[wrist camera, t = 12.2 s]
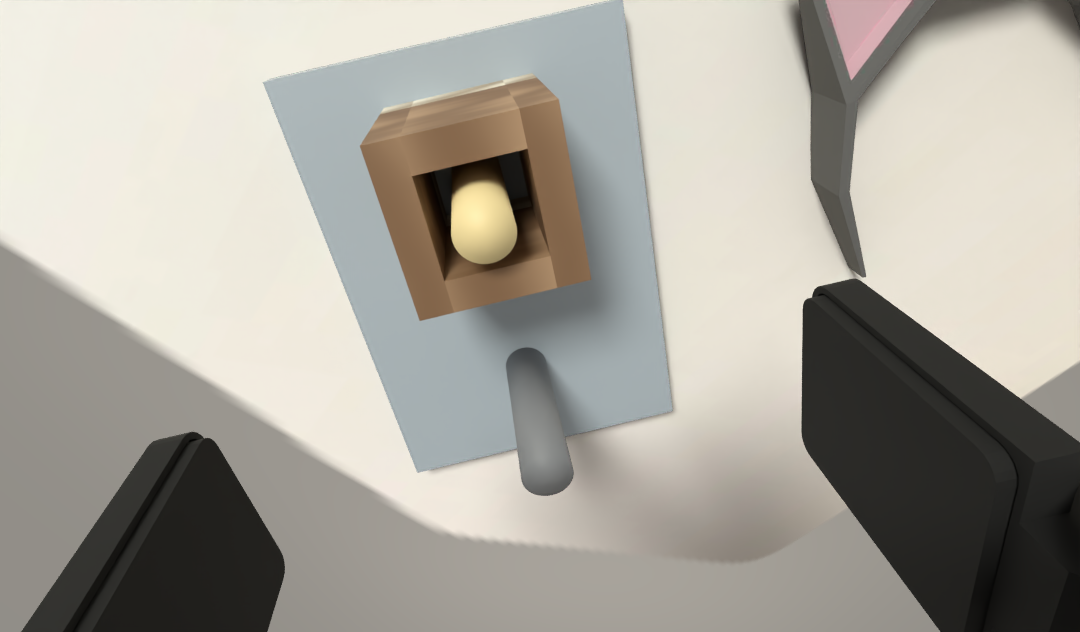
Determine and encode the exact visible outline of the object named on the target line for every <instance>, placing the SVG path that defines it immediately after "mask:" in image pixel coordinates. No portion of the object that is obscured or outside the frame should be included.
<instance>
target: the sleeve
mask: <svg viewBox="0 0 1080 632" xmlns="http://www.w3.org/2000/svg"><path fill="white" fill-rule="evenodd" d="M360 149H361V151H362V154H363V157H364V160H365V163H366V166H367V169H368V172H369V175H370V178H371V181H372V184H373V186H374V189H375V192H376V195H377V198H378V201H379V204H380V207H381V210H382V213H383V216H384V219H385V221H386V224H387V227H388V230H389V233H390V236H391V239H392V242H393V245H394V248H395V251H396V253H397V256H398V259H399V262H400V265H401V268H402V271H403V274H404V277H405V280H406V283H407V286H408V288H409V291H410V294H411V297H412V300H413V303H414V306H415V309H416V312H417V315H418V318H419V321H422V320H426V319H431V318H435V317H439V316H443V315H447V314H451V313H455V312H460V311H464V310H468V309H472V308H476V307H480V306H485V305H489V304H493V303H497V302H501V301H505V300H509V299H514V298H518V297H522V296H526V295H530V294H534V293H539V292H543V291H547V290H551V289H555V288H559V287H564V286H568V285H572V284H576V283H580V282H584V281H588V280H591V274H590V269H589V263H588V258H587V252H586V247H585V241H584V235H583V230H582V224H581V219H580V213H579V208H578V202H577V197H576V191H575V186H574V180H573V175H572V169H571V164H570V158H569V153H568V147H567V142H566V136H565V131H564V125H563V119H562V114H561V108H560V103H559V99H558V98H557V97H556V96H555V95H554V94H553V93H552V92H551V91H550V90H549V89H548V88H547V87H546V86H545V85H544V84H543V83H542V82H541V81H540V80H539V79H538V78H537V77H536V76H535V75H534V74H533V73H530V74H526V75H522V76H518V77H513V78H509V79H505V80H501V81H496V82H492V83H488V84H484V85H479V86H475V87H471V88H467V89H462V90H458V91H454V92H450V93H445V94H441V95H437V96H433V97H428V98H424V99H420V100H416V101H411V102H407V103H403V104H399V105H394V106H390V107H386V108H383V110H382V112H381V113H380V115H379V116H378V118H377V120H376V121H375V123H374V124H373V126H372V127H371V129H370V131H369V132H368V134H367V135H366V137H365V139H364V140H363V142H362V143H361V145H360ZM516 151H518V152H519V157H520V161H521V166H522V170H523V175H524V179H525V184H526V189H527V193H528V196H525V197H521V198H517V199H512V200H510V204H511V208H512V211H513V215H514V219H515V222H516V226H517V239H516V243H515V245H514V247H513V249H512V250H511V252H510V253H509V254H508V255H507V256H506V257H504V258H503V259H501V260H499V261H497V262H494V263H490V264H478V263H474V262H471V261H469V260H467V259H465V258H464V257H463V256H461V255H460V254H459V253H458V251H457V250H456V248H455V247H454V245H453V242H452V238H451V214H449V215H447V214H446V211H445V207H444V204H443V201H442V197H441V194H440V190H439V187H438V183H437V180H436V176H435V173H434V171H436V170H440V169H444V168H449V167H453V166H457V165H461V164H466V163H470V162H474V161H478V160H482V159H487V158H491V157H495V156H499V155H504V154H508V153H512V152H516Z"/></svg>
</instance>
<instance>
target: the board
mask: <svg viewBox="0 0 1080 632" xmlns="http://www.w3.org/2000/svg"><path fill="white" fill-rule="evenodd" d="M530 73H533V74H534V75H535V76H536V77H537V78H538V79H539V80H540V81H541V82H542V83H543V84H544V85H545V86H546V87H547V88H548V89H549V90H550V91H551V92H552V93H553V94H554V95H555V96H556V97H557V98H558V99H559V103H560V108H561V114H562V119H563V125H564V131H565V136H566V142H567V147H568V153H569V158H570V164H571V169H572V175H573V180H574V186H575V191H576V197H577V202H578V208H579V213H580V219H581V224H582V230H583V235H584V241H585V247H586V252H587V258H588V263H589V269H590V274H591V280H588V281H584V282H580V283H576V284H572V285H568V286H564V287H559V288H555V289H551V290H547V291H543V292H539V293H534V294H530V295H526V296H522V297H518V298H514V299H509V300H505V301H501V302H497V303H493V304H489V305H485V306H480V307H476V308H472V309H468V310H464V311H460V312H455V313H451V314H447V315H443V316H439V317H435V318H431V319H426V320H422V321H419V318H418V315H417V312H416V309H415V306H414V303H413V300H412V297H411V294H410V291H409V288H408V286H407V283H406V280H405V277H404V274H403V271H402V268H401V265H400V262H399V259H398V256H397V253H396V251H395V248H394V245H393V242H392V239H391V236H390V233H389V230H388V227H387V224H386V221H385V219H384V216H383V213H382V210H381V207H380V204H379V201H378V198H377V195H376V192H375V189H374V186H373V184H372V181H371V178H370V175H369V172H368V169H367V166H366V163H365V160H364V157H363V154H362V151H361V149H360V145H361V143H362V142H363V140H364V139H365V137H366V135H367V134H368V132H369V131H370V129H371V127H372V126H373V124H374V123H375V121H376V120H377V118H378V116H379V115H380V113H381V112H382V110H383V108H386V107H390V106H394V105H399V104H403V103H407V102H411V101H416V100H420V99H424V98H428V97H433V96H437V95H441V94H445V93H450V92H454V91H458V90H462V89H467V88H471V87H475V86H479V85H484V84H488V83H492V82H496V81H501V80H505V79H509V78H513V77H518V76H522V75H526V74H530ZM263 84H264V86H265V89H266V91H267V94H268V96H269V99H270V101H271V104H272V107H273V109H274V112H275V114H276V117H277V119H278V122H279V124H280V127H281V129H282V132H283V134H284V137H285V139H286V142H287V144H288V147H289V149H290V152H291V154H292V157H293V160H294V162H295V165H296V167H297V170H298V172H299V175H300V177H301V180H302V182H303V185H304V187H305V190H306V192H307V195H308V197H309V200H310V202H311V205H312V207H313V210H314V213H315V215H316V218H317V220H318V223H319V225H320V228H321V230H322V233H323V235H324V238H325V240H326V243H327V245H328V248H329V250H330V253H331V255H332V258H333V260H334V263H335V266H336V268H337V271H338V273H339V276H340V278H341V281H342V283H343V286H344V288H345V291H346V293H347V296H348V298H349V301H350V303H351V306H352V308H353V311H354V313H355V316H356V319H357V321H358V324H359V326H360V329H361V331H362V334H363V336H364V339H365V341H366V344H367V346H368V349H369V351H370V354H371V356H372V359H373V361H374V364H375V367H376V369H377V372H378V374H379V377H380V379H381V382H382V384H383V387H384V389H385V392H386V394H387V397H388V399H389V402H390V404H391V407H392V409H393V412H394V414H395V417H396V420H397V422H398V425H399V427H400V430H401V432H402V435H403V437H404V440H405V442H406V445H407V447H408V450H409V452H410V455H411V457H412V460H413V462H414V465H415V467H416V470H417V473H418V472H423V471H427V470H431V469H435V468H439V467H443V466H447V465H452V464H456V463H460V462H464V461H468V460H472V459H476V458H480V457H485V456H489V455H493V454H497V453H501V452H505V451H509V450H513V449H517V450H518V458H519V465H520V472H521V479H522V483H523V485H524V487H525V488H526V489H527V490H528V491H529V492H531V493H533V494H536V495H541V496H548V495H553V494H557V493H559V492H561V491H563V490H564V489H565V488H567V487H568V485H569V484H570V483H571V481H572V479H573V474H574V472H573V467H572V463H571V459H570V455H569V451H568V447H567V443H566V439H565V437H567V436H571V435H575V434H580V433H584V432H588V431H592V430H596V429H600V428H604V427H608V426H613V425H617V424H621V423H625V422H629V421H633V420H637V419H642V418H646V417H650V416H654V415H658V414H662V413H666V412H670V411H673V410H672V401H671V393H670V385H669V377H668V368H667V360H666V352H665V344H664V335H663V327H662V319H661V311H660V303H659V294H658V286H657V278H656V270H655V261H654V253H653V245H652V237H651V229H650V220H649V212H648V204H647V196H646V187H645V179H644V171H643V163H642V155H641V146H640V138H639V130H638V122H637V113H636V105H635V97H634V89H633V80H632V72H631V64H630V56H629V48H628V39H627V31H626V23H625V15H624V6H623V0H609V1H604V2H600V3H596V4H591V5H587V6H583V7H578V8H574V9H570V10H565V11H561V12H557V13H552V14H548V15H544V16H540V17H535V18H531V19H527V20H522V21H518V22H514V23H509V24H505V25H501V26H496V27H492V28H488V29H483V30H479V31H475V32H470V33H466V34H462V35H457V36H453V37H449V38H444V39H440V40H436V41H431V42H427V43H423V44H418V45H414V46H410V47H406V48H401V49H397V50H393V51H388V52H384V53H380V54H375V55H371V56H367V57H362V58H358V59H354V60H349V61H345V62H341V63H336V64H332V65H328V66H323V67H319V68H315V69H310V70H306V71H302V72H297V73H293V74H289V75H285V76H280V77H276V78H272V79H269V80H267V81H265V82H263ZM434 173H435V176H436V180H437V183H438V187H439V190H440V194H441V197H442V201H443V204H444V207H445V211H446V214H447V215H449V214H451V238H452V242H453V245H454V247H455V248H456V250H457V251H458V253H459V254H460V255H461V256H463V257H464V258H465V259H467V260H469V261H471V262H474V263H478V264H490V263H494V262H497V261H499V260H501V259H503V258H504V257H506V256H507V255H508V254H509V253H510V252H511V250H512V249H513V247H514V245H515V243H516V239H517V226H516V222H515V219H514V215H513V211H512V208H511V204H510V200H512V199H517V198H521V197H525V196H528V193H527V189H526V184H525V179H524V175H523V170H522V166H521V161H520V157H519V152H518V151H516V152H512V153H508V154H504V155H499V156H495V157H491V158H487V159H482V160H478V161H474V162H470V163H466V164H461V165H457V166H453V167H449V168H444V169H440V170H436V171H434Z"/></svg>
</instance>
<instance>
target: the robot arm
mask: <svg viewBox="0 0 1080 632" xmlns="http://www.w3.org/2000/svg"><path fill="white" fill-rule="evenodd" d="M802 438H803V442H804V445H805V447H806V450H807V452H808V453H809V455H810V456H811V458H812V459H813V460H814V462H815V463H816V465H817V466H818V467H819V469H820V470H821V471H822V473H823V474H824V475H825V477H826V478H827V479H828V481H829V482H830V483H831V485H832V486H833V487H834V489H835V490H836V491H837V493H838V494H839V496H840V497H841V498H842V500H843V501H844V502H845V504H846V505H847V506H848V508H849V509H850V510H851V512H852V513H853V514H854V516H855V517H856V518H857V520H858V521H859V522H860V524H861V525H862V526H863V528H864V529H865V530H866V532H867V533H868V535H869V536H870V537H871V539H872V540H873V541H874V543H875V544H876V545H877V547H878V548H879V549H880V551H881V552H882V553H883V555H884V556H885V557H886V559H887V560H888V561H889V563H890V564H891V565H892V567H893V568H894V570H895V571H896V572H897V574H898V575H899V576H900V578H901V579H902V580H903V582H904V583H905V584H906V586H907V587H908V589H909V590H910V591H911V592H912V594H913V595H914V597H915V598H916V599H917V601H918V602H919V603H920V605H921V606H922V607H923V609H924V610H925V611H926V613H927V614H928V615H929V617H930V618H931V619H932V621H933V622H934V624H935V625H936V626H937V627H938V629H939V630H940V632H1080V442H1078V441H1077V440H1076V439H1074V438H1073V437H1072V436H1070V435H1069V434H1067V433H1066V432H1065V431H1064V430H1062V429H1061V428H1059V427H1058V426H1057V425H1055V424H1054V423H1053V422H1051V421H1050V420H1049V419H1047V418H1046V417H1044V416H1043V415H1042V414H1040V413H1039V412H1038V411H1036V410H1035V409H1034V408H1032V407H1031V406H1030V405H1028V404H1027V403H1025V402H1024V401H1023V400H1021V399H1020V398H1019V397H1017V396H1016V395H1015V394H1013V393H1012V392H1011V391H1009V390H1008V389H1007V388H1005V387H1004V386H1002V385H1001V384H1000V383H998V382H997V381H996V380H994V379H993V378H992V377H990V376H989V375H988V374H986V373H985V372H984V371H982V370H981V369H979V368H978V367H977V366H975V365H974V364H973V363H971V362H970V361H969V360H967V359H966V358H965V357H963V356H962V355H960V354H959V353H958V352H956V351H955V350H954V349H952V348H951V347H950V346H948V345H947V344H946V343H944V342H943V341H941V340H940V339H939V338H937V337H936V336H935V335H933V334H932V333H931V332H929V331H928V330H927V329H925V328H924V327H922V326H921V325H920V324H918V323H917V322H916V321H914V320H913V319H912V318H910V317H909V316H908V315H906V314H905V313H903V312H902V311H901V310H899V309H898V308H897V307H895V306H894V305H893V304H891V303H890V302H889V301H887V300H886V299H884V298H883V297H882V296H880V295H879V294H878V293H876V292H875V291H874V290H872V289H871V288H870V287H868V286H867V285H866V284H864V283H863V282H861V281H860V280H858V279H849V280H845V281H841V282H836V283H832V284H828V285H823V286H819V287H817V288H816V289H815V290H814V292H813V295H812V298H809V299H806V300H805V302H804V304H803V342H802ZM284 573H285V566H284V559H283V555H282V553H281V551H280V549H279V548H278V546H277V545H276V543H275V541H274V539H273V538H272V536H271V534H270V533H269V531H268V529H267V528H266V526H265V524H264V523H263V521H262V519H261V518H260V516H259V514H258V512H257V511H256V509H255V507H254V506H253V504H252V502H251V501H250V499H249V497H248V496H247V494H246V492H245V491H244V489H243V487H242V486H241V484H240V482H239V481H238V479H237V477H236V476H235V474H234V473H233V471H232V469H231V467H230V466H229V464H228V462H227V461H226V459H225V457H224V456H223V454H222V452H221V451H220V449H219V447H218V446H217V444H216V443H215V442H214V441H213V440H212V439H210V438H205V439H204V438H203V437H202V436H201V435H200V434H198V433H196V432H189V433H185V434H181V435H176V436H172V437H168V438H163V439H159V440H156V441H153V442H152V443H151V444H150V445H149V446H148V447H147V449H146V450H145V452H144V453H143V455H142V456H141V458H140V459H139V461H138V462H137V463H136V465H135V466H134V468H133V470H132V471H131V472H130V474H129V475H128V477H127V478H126V480H125V481H124V483H123V484H122V485H121V487H120V489H119V490H118V492H117V493H116V494H115V496H114V497H113V499H112V500H111V502H110V503H109V505H108V506H107V507H106V509H105V510H104V512H103V513H102V515H101V516H100V518H99V519H98V520H97V522H96V523H95V525H94V526H93V528H92V529H91V531H90V532H89V534H88V535H87V537H86V538H85V539H84V541H83V542H82V544H81V545H80V547H79V548H78V550H77V551H76V553H75V554H74V556H73V557H72V558H71V560H70V561H69V563H68V564H67V566H66V567H65V569H64V570H63V572H62V573H61V575H60V576H59V578H58V579H57V580H56V582H55V583H54V585H53V586H52V588H51V589H50V591H49V592H48V594H47V595H46V596H45V598H44V599H43V601H42V602H41V604H40V605H39V607H38V608H37V610H36V611H35V613H34V614H33V616H32V617H31V619H30V620H29V621H28V623H27V624H26V626H25V627H24V629H23V630H22V632H267V631H268V627H269V624H270V621H271V617H272V614H273V611H274V608H275V605H276V601H277V598H278V595H279V591H280V588H281V585H282V581H283V578H284Z"/></svg>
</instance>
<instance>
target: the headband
mask: <svg viewBox="0 0 1080 632" xmlns="http://www.w3.org/2000/svg"><path fill="white" fill-rule="evenodd" d="M935 1H936V0H799V6H800V13H801V20H802V27H803V34H804V40H805V47H806V54H807V61H808V68H809V75H810V82H811V88H812V108H811V180H812V183H813V185H814V187H815V190H816V192H817V194H818V197H819V199H820V201H821V204H822V206H823V208H824V211H825V213H826V215H827V218H828V220H829V222H830V225H831V227H832V229H833V232H834V234H835V236H836V239H837V241H838V243H839V246H840V248H841V250H842V253H843V255H844V257H845V260H846V262H847V264H848V267H850V268H851V269H852V270H854V271H855V272H856V273H857V274H859V275H860V276H861V277H866V273H865V268H864V262H863V257H862V252H861V247H860V242H859V237H858V232H857V227H856V222H855V217H854V212H853V207H852V202H851V197H850V192H849V191H850V181H851V170H852V160H853V149H854V139H855V128H856V118H857V107H858V99H859V98H860V97H861V95H862V94H863V93H864V92H865V90H866V89H867V88H868V86H869V85H870V84H871V82H872V81H873V80H874V79H875V77H876V76H877V75H878V73H879V72H880V71H881V69H882V68H883V67H884V66H885V64H886V63H887V62H888V60H889V59H890V58H891V56H892V55H893V54H894V53H895V51H896V50H897V49H898V47H899V46H900V45H901V44H902V42H903V41H904V40H905V39H906V37H907V36H908V35H909V34H910V32H911V31H912V30H913V29H914V27H915V26H916V25H917V24H918V22H919V21H920V20H921V19H922V17H923V16H924V15H925V14H926V12H927V11H928V10H929V9H930V7H931V6H932V5H933V4H934V2H935ZM1067 1H1068V2H1069V3H1070V4H1071V5H1072V8H1073V11H1074V14H1075V17H1076V20H1077V22H1078V25H1079V28H1080V0H1067Z"/></svg>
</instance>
